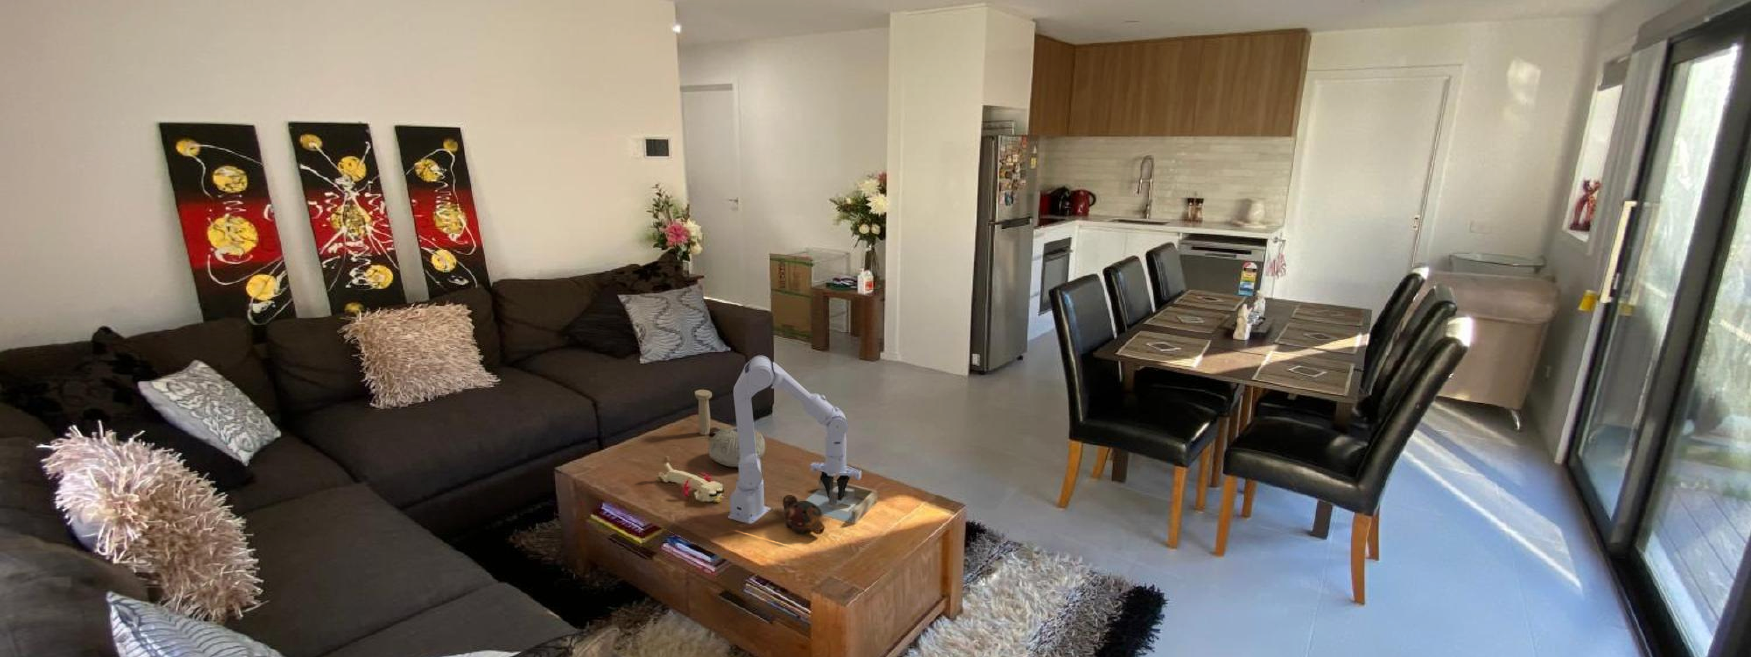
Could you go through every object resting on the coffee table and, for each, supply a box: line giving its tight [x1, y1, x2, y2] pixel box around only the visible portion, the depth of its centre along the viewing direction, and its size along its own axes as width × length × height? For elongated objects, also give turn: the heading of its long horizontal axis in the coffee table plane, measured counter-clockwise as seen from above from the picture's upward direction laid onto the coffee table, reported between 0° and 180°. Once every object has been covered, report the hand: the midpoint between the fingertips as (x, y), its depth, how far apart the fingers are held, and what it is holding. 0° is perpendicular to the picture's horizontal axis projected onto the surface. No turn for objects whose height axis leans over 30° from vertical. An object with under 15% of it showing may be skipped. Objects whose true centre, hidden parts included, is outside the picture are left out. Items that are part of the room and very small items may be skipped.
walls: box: [818, 476, 878, 525], centre depth 212 cm, size 14×18×4 cm
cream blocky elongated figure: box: [656, 455, 725, 503], centre depth 219 cm, size 10×9×25 cm
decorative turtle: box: [782, 494, 826, 536], centre depth 200 cm, size 10×15×8 cm, turn 51°
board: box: [804, 488, 863, 524], centre depth 212 cm, size 13×18×1 cm
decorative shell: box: [707, 426, 766, 468], centre depth 239 cm, size 18×18×10 cm
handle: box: [694, 389, 713, 436], centre depth 258 cm, size 5×6×15 cm
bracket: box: [828, 486, 855, 507], centre depth 212 cm, size 6×6×4 cm
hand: (835, 498), depth 212 cm, fingers closed on bracket, 2 cm apart
